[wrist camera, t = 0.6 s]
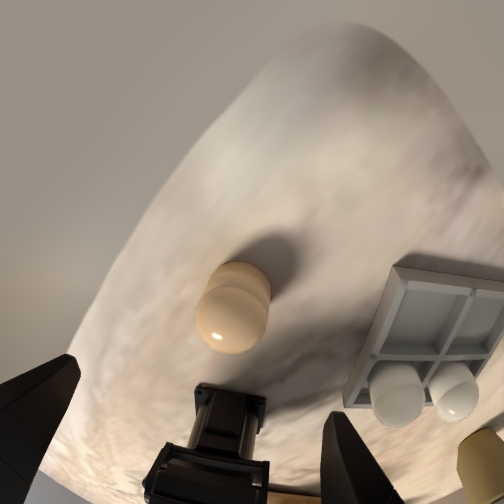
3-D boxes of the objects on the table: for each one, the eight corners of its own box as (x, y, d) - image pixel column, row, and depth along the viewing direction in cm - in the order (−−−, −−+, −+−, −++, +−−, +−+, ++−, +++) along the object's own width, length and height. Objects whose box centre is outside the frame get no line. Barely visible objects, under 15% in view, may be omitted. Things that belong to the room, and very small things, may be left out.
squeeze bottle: (445, 458, 29) (463, 549, 12) (459, 434, 26) (484, 541, 9) (487, 440, 27) (510, 525, 11) (504, 414, 24) (536, 510, 8)
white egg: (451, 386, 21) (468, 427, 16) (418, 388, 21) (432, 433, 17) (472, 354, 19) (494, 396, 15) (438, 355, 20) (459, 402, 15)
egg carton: (452, 390, 22) (458, 403, 20) (342, 392, 23) (343, 408, 21) (513, 283, 17) (524, 294, 15) (392, 265, 18) (400, 279, 16)
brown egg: (267, 319, 20) (259, 373, 16) (208, 309, 21) (187, 360, 16) (275, 266, 19) (269, 316, 14) (210, 257, 19) (184, 302, 14)
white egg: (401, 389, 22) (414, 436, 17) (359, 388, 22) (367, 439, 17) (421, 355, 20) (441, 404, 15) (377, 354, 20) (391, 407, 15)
